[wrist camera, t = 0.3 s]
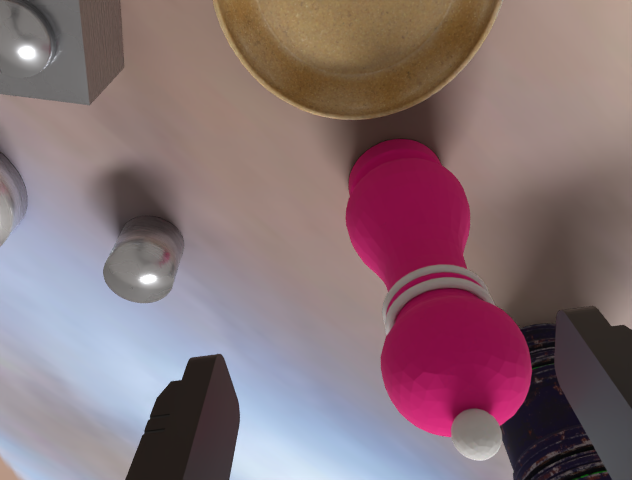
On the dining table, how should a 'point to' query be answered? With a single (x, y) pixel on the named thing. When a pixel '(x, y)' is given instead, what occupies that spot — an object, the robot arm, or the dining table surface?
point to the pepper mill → (435, 300)
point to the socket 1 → (59, 48)
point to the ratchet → (10, 199)
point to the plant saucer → (355, 49)
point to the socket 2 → (144, 260)
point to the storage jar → (548, 423)
